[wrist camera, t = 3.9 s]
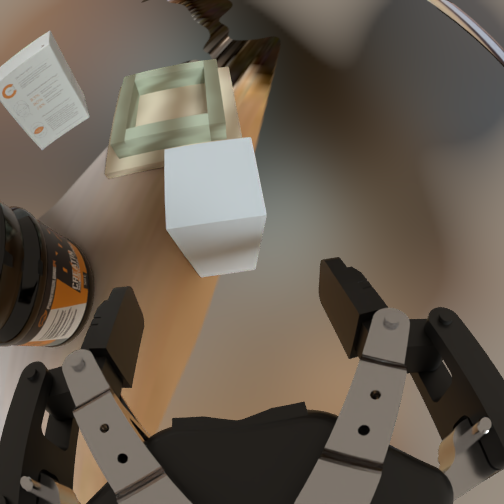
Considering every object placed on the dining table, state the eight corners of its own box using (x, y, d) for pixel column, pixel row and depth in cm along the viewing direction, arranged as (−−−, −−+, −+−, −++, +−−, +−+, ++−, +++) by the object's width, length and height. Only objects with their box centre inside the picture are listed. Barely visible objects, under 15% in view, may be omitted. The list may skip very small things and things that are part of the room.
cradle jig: (108, 179, 25) (94, 160, 21) (122, 92, 29) (115, 73, 25) (244, 155, 26) (244, 132, 23) (228, 72, 30) (228, 51, 26)
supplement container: (105, 345, 20) (7, 345, 9) (26, 347, 20) (-62, 341, 8) (97, 231, 23) (21, 166, 12) (24, 250, 22) (-52, 208, 11)
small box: (84, 95, 29) (51, 28, 16) (91, 118, 27) (50, 43, 15) (39, 125, 27) (-3, 67, 15) (41, 152, 26) (-11, 90, 13)
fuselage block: (200, 277, 22) (166, 229, 12) (195, 226, 24) (164, 149, 13) (255, 269, 23) (266, 215, 12) (246, 219, 24) (250, 137, 13)
